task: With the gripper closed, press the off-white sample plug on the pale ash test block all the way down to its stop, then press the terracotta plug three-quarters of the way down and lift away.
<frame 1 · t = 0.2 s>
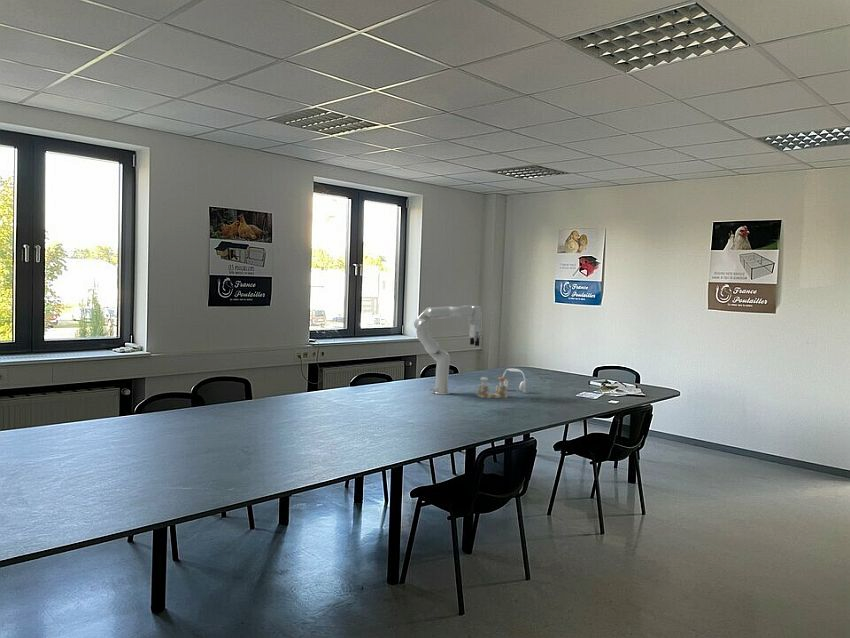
hand: (474, 345, 476), 36 cm above the table, tool pointing down, fingers open, 9 cm apart
terracotta plug: (501, 382, 468), point 10 cm above the table, slide at 0.0 cm
headset: (513, 391, 493), on the table
sample plug: (484, 383, 464), point 10 cm above the table, slide at 0.0 cm
test block: (492, 396, 466), on the table
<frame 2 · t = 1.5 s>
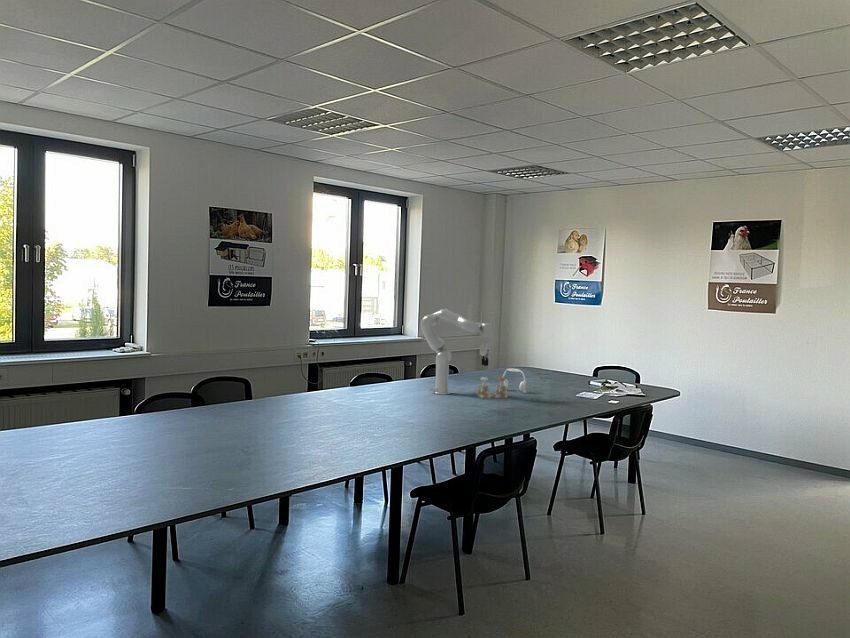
hand: (484, 365, 463), 23 cm above the table, tool pointing down, fingers open, 3 cm apart
nothing on the table moved.
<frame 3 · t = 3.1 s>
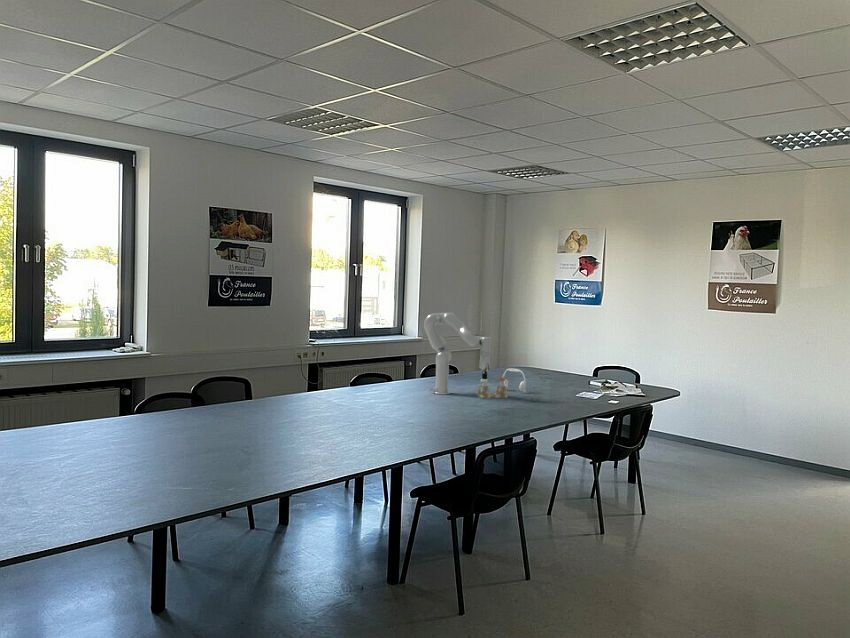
hand: (484, 378, 463), 13 cm above the table, tool pointing down, fingers closed
sample plug: (484, 384, 464), point 9 cm above the table, slide at 1.0 cm, touching gripper
everything else where it was.
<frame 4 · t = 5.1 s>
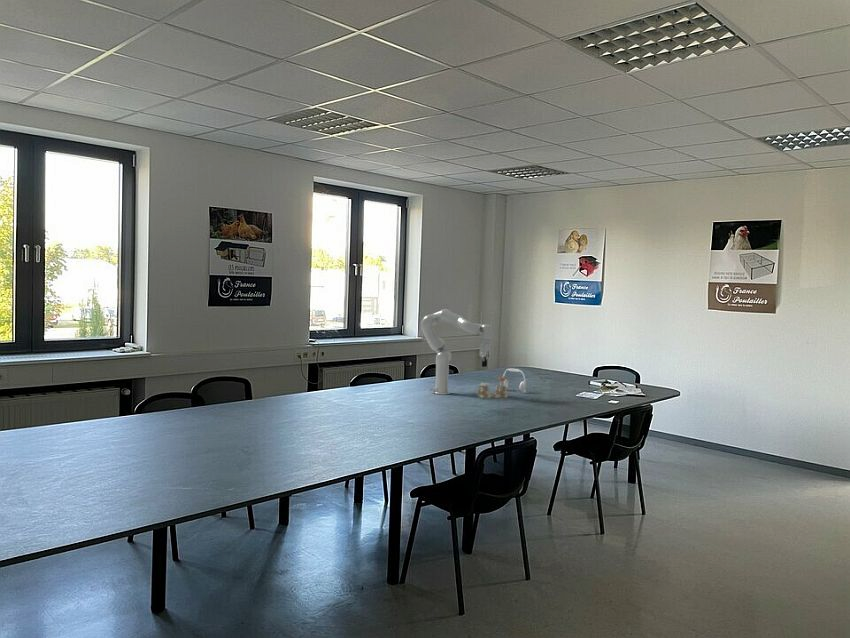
hand: (484, 366, 463), 22 cm above the table, tool pointing down, fingers closed
sample plug: (483, 388, 464), point 6 cm above the table, slide at 4.0 cm
everything else where it was.
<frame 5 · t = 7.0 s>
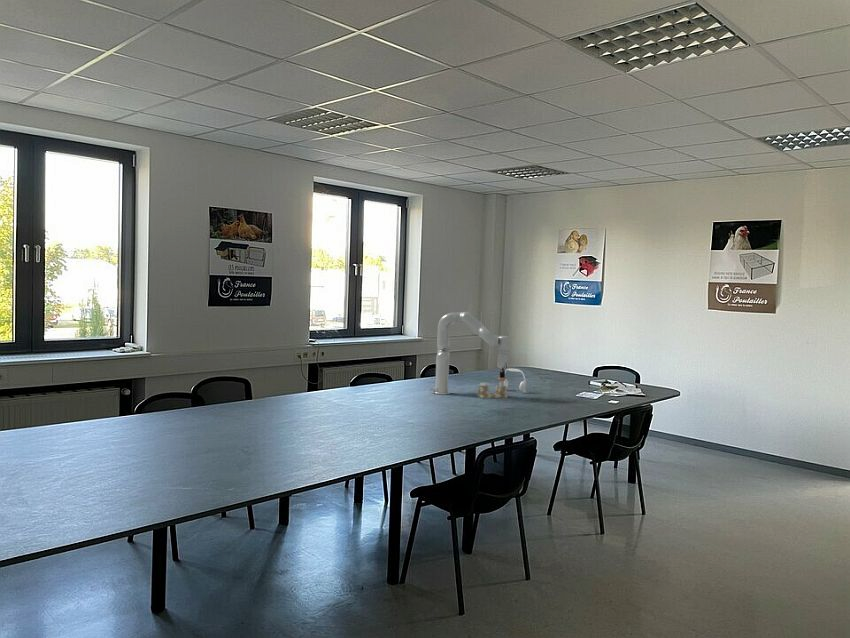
hand: (502, 377, 467), 14 cm above the table, tool pointing down, fingers closed
terracotta plug: (501, 382, 468), point 10 cm above the table, slide at 0.0 cm, touching gripper
everything else where it was.
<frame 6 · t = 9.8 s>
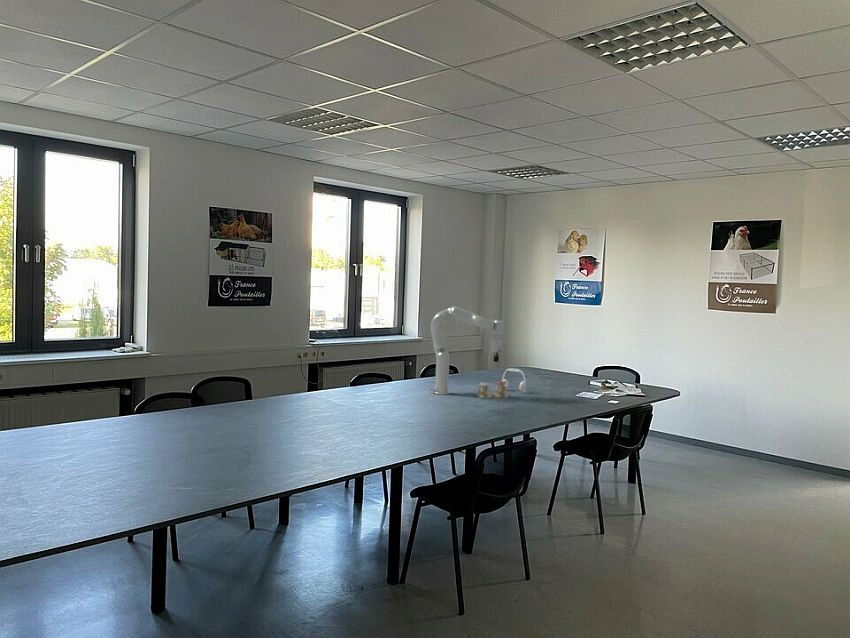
hand: (495, 361, 471), 25 cm above the table, tool pointing down, fingers closed
terracotta plug: (501, 386, 468), point 7 cm above the table, slide at 2.9 cm
everything else where it was.
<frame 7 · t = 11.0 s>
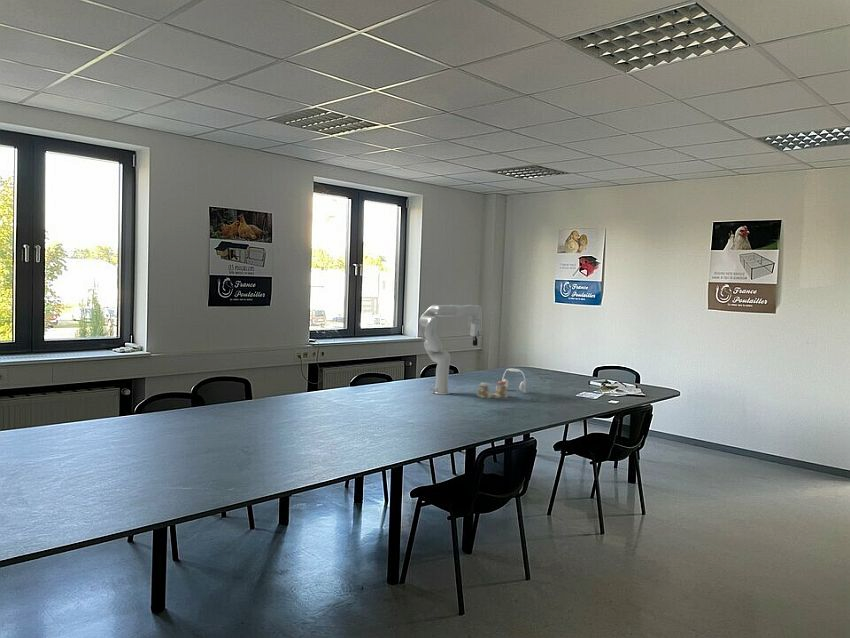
hand: (474, 345, 485), 35 cm above the table, tool pointing down, fingers closed
nothing on the table moved.
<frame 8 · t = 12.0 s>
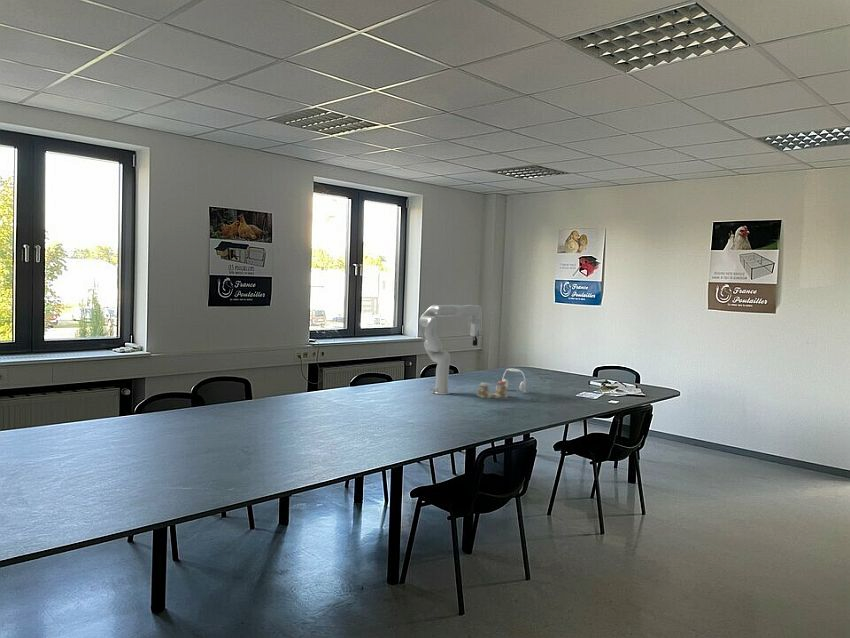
hand: (474, 345, 486), 35 cm above the table, tool pointing down, fingers closed
nothing on the table moved.
at the end: sample plug slide at 4.0 cm; terracotta plug slide at 2.9 cm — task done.
